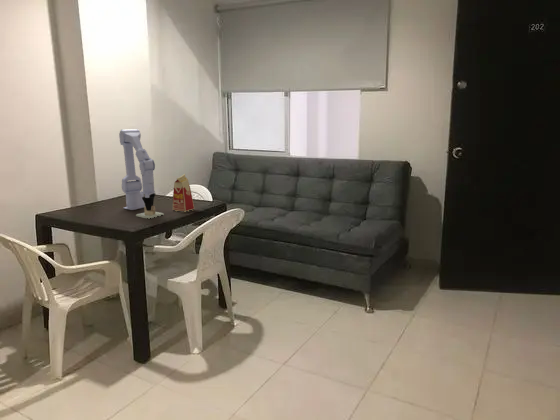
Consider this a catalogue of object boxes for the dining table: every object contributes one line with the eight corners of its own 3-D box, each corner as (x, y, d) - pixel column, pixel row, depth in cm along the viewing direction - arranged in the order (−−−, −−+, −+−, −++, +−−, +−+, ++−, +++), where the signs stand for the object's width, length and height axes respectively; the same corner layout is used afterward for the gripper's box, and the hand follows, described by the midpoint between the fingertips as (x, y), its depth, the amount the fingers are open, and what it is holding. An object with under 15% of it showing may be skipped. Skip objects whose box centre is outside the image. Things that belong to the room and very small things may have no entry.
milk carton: (182, 207, 264) (181, 172, 260) (195, 209, 260) (193, 174, 255) (171, 211, 257) (169, 174, 252) (183, 212, 252) (182, 176, 248)
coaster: (151, 212, 252) (151, 210, 252) (164, 215, 247) (163, 213, 246) (136, 216, 244) (136, 214, 244) (149, 218, 239) (149, 216, 238)
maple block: (148, 212, 247) (147, 205, 247) (155, 213, 247) (154, 205, 246) (144, 214, 244) (144, 207, 243) (151, 214, 243) (151, 207, 242)
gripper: (142, 181, 248) (143, 206, 251) (138, 185, 234) (139, 212, 237) (155, 180, 249) (157, 205, 252) (152, 185, 235) (154, 211, 238)
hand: (149, 208), depth 245 cm, fingers open, 7 cm apart
